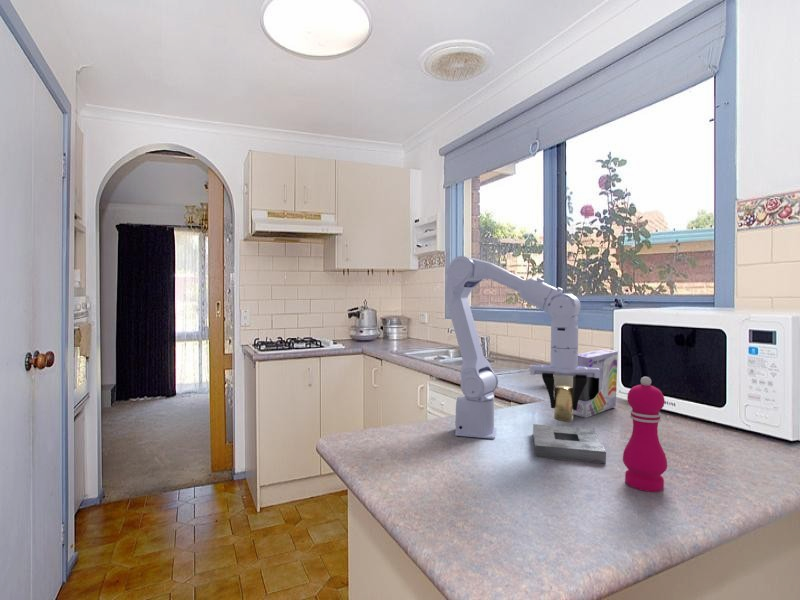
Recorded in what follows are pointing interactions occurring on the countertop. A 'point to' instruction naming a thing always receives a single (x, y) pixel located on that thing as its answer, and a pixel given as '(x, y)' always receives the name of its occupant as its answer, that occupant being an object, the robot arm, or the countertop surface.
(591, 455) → the plate
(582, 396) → the cake pan box
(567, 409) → the brass cylinder
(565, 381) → the travel mug
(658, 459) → the pepper mill
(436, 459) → the countertop surface
